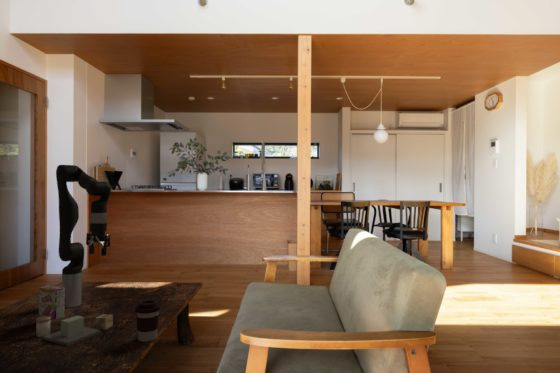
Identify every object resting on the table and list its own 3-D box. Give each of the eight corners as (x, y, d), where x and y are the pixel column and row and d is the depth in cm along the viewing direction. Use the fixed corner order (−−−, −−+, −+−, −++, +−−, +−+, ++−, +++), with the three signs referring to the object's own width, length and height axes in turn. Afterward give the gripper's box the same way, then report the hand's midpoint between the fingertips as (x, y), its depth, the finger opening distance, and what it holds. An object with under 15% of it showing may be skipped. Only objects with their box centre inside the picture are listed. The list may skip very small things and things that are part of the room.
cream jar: (32, 335, 154) (33, 318, 154) (45, 331, 159) (45, 315, 159) (40, 337, 152) (41, 320, 152) (53, 333, 157) (53, 316, 157)
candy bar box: (37, 323, 168) (38, 287, 169) (47, 320, 173) (48, 285, 173) (55, 326, 165) (56, 289, 165) (65, 323, 169) (65, 287, 170)
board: (43, 339, 150) (43, 336, 150) (77, 327, 164) (77, 324, 164) (67, 346, 144) (67, 342, 144) (100, 333, 157) (100, 330, 157)
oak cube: (95, 329, 162) (95, 317, 162) (102, 325, 167) (102, 314, 167) (105, 329, 161) (105, 318, 161) (112, 325, 166) (112, 314, 166)
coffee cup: (145, 345, 145) (145, 307, 145) (129, 340, 150) (129, 303, 150) (165, 337, 153) (165, 301, 153) (149, 332, 158) (150, 297, 159)
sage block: (60, 335, 152) (61, 320, 152) (76, 329, 158) (76, 315, 158) (68, 337, 150) (68, 322, 150) (83, 331, 156) (84, 317, 156)
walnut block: (48, 329, 162) (48, 320, 162) (63, 326, 166) (63, 317, 166) (50, 331, 159) (51, 322, 159) (66, 328, 163) (66, 319, 163)
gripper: (81, 221, 181) (80, 254, 180) (101, 223, 175) (101, 257, 174) (95, 220, 187) (94, 252, 187) (115, 222, 181) (114, 255, 181)
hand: (97, 254), depth 181 cm, fingers open, 8 cm apart
